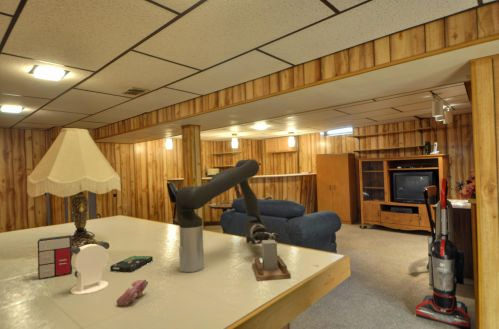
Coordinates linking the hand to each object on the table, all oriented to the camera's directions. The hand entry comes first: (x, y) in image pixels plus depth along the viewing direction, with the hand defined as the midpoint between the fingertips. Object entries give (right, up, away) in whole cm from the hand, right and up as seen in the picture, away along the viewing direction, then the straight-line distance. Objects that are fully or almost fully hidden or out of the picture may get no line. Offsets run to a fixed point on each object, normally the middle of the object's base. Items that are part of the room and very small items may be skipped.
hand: (264, 241), depth 120 cm
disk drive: (-56, -12, +3) cm, 58 cm away
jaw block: (+1, -7, -11) cm, 14 cm away
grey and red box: (-84, -12, -6) cm, 85 cm away
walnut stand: (+2, -9, -12) cm, 15 cm away
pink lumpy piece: (-42, -10, -31) cm, 53 cm away
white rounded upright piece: (-62, -11, -20) cm, 66 cm away
